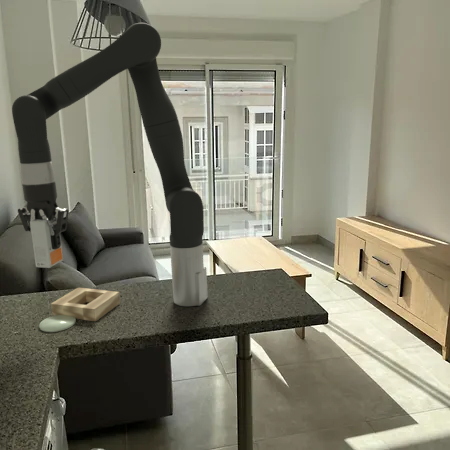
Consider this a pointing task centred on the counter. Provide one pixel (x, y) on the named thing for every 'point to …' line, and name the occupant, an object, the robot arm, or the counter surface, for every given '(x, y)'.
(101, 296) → the pocket block
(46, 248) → the skincare box
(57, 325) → the coaster
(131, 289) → the counter surface
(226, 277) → the counter surface
